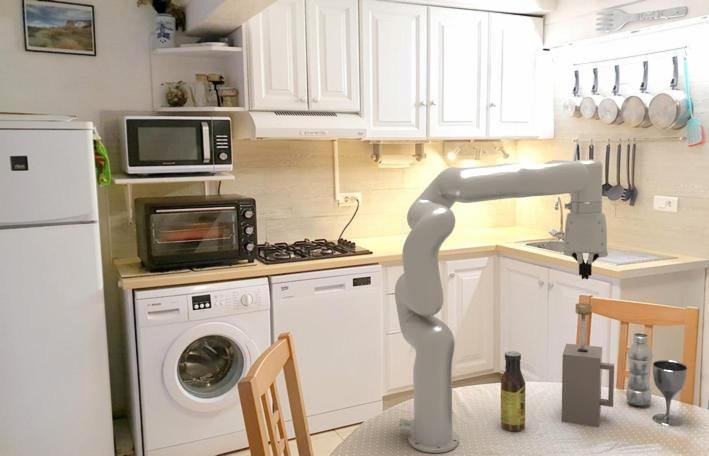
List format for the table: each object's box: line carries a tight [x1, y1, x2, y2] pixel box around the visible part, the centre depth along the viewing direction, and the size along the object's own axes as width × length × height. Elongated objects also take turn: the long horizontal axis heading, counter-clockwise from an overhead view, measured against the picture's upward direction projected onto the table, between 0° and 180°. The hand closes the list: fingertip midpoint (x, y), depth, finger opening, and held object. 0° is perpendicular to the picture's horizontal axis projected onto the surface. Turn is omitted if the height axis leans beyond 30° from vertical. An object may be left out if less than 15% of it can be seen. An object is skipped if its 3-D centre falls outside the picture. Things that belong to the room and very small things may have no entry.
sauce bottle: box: [500, 350, 526, 432], centre depth 161 cm, size 7×6×20 cm
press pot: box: [561, 342, 615, 428], centre depth 165 cm, size 12×9×19 cm
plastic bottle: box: [625, 332, 654, 407], centre depth 172 cm, size 6×7×20 cm
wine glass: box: [652, 359, 688, 427], centre depth 162 cm, size 8×8×15 cm
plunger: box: [575, 302, 593, 352], centre depth 164 cm, size 7×7×19 cm
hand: (585, 277), depth 161 cm, fingers closed
